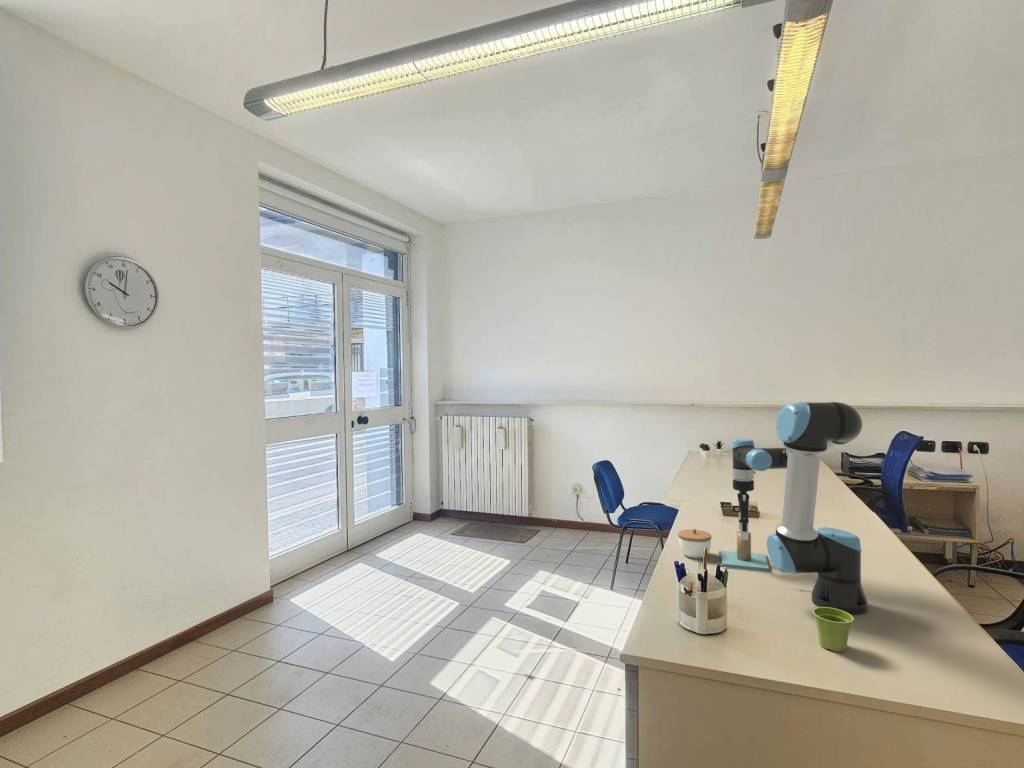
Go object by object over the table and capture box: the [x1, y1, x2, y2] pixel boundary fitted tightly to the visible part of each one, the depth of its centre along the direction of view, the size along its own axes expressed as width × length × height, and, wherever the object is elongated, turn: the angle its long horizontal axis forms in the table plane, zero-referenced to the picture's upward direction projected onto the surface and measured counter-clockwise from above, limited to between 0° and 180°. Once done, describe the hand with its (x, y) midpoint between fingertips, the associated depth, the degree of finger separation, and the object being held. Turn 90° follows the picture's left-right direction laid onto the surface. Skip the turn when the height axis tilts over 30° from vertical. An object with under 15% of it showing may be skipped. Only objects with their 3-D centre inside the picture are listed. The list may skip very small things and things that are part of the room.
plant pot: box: [812, 606, 855, 653], centre depth 144 cm, size 9×9×9 cm
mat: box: [718, 550, 773, 574], centre depth 208 cm, size 20×18×1 cm
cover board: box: [720, 530, 769, 571], centre depth 208 cm, size 16×16×11 cm
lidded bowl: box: [677, 528, 712, 559], centre depth 216 cm, size 13×13×11 cm
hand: (743, 534), depth 208 cm, fingers open, 13 cm apart
